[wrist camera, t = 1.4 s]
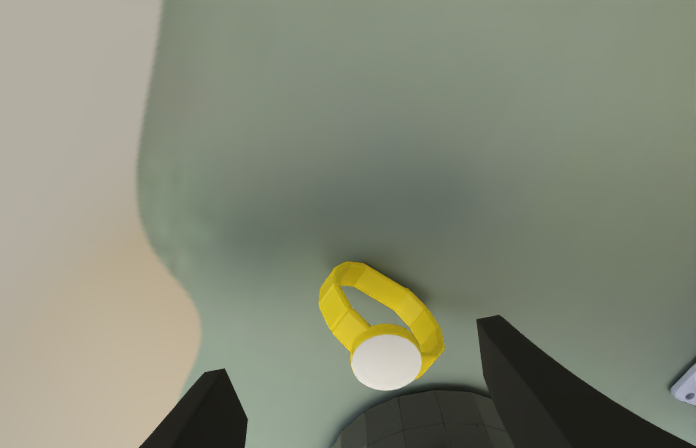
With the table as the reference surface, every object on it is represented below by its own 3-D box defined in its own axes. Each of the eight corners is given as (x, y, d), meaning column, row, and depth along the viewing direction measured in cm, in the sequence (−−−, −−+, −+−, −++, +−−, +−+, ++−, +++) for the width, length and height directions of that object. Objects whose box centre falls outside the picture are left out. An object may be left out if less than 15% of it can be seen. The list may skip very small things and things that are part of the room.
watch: (439, 290, 21) (474, 373, 16) (408, 327, 22) (431, 418, 17) (342, 235, 20) (343, 305, 14) (314, 277, 21) (304, 358, 15)
